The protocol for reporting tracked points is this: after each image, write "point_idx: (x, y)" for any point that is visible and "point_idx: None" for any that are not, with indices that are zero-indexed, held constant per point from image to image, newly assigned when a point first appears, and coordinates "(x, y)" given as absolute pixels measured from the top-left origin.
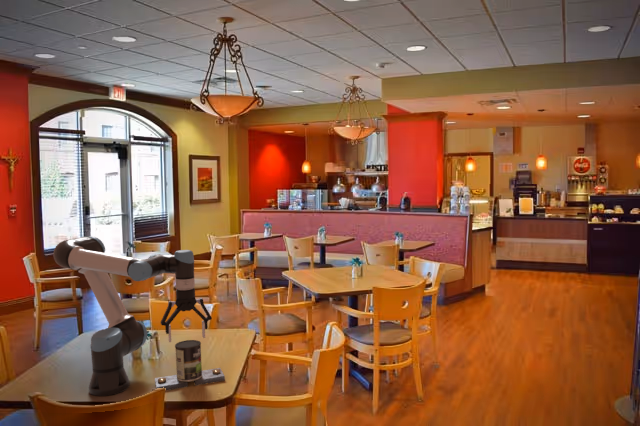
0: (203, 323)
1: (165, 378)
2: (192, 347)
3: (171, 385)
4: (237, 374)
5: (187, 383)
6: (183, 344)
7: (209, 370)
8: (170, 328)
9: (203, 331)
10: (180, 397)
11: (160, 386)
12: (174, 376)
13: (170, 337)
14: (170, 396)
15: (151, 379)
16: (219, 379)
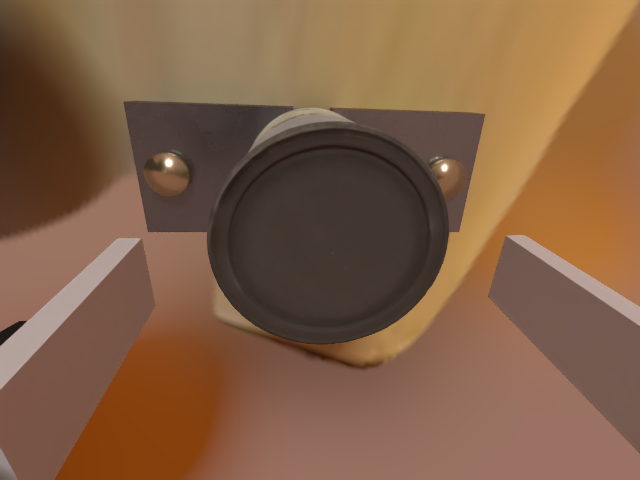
0: (636, 440)
1: (185, 174)
2: (349, 339)
3: None
4: (523, 179)
5: None
6: (290, 239)
7: (424, 128)
8: (57, 465)
9: (536, 344)
10: None
11: (166, 231)
12: (236, 128)
13: (125, 342)
14: (216, 285)
15: (107, 29)
16: None
